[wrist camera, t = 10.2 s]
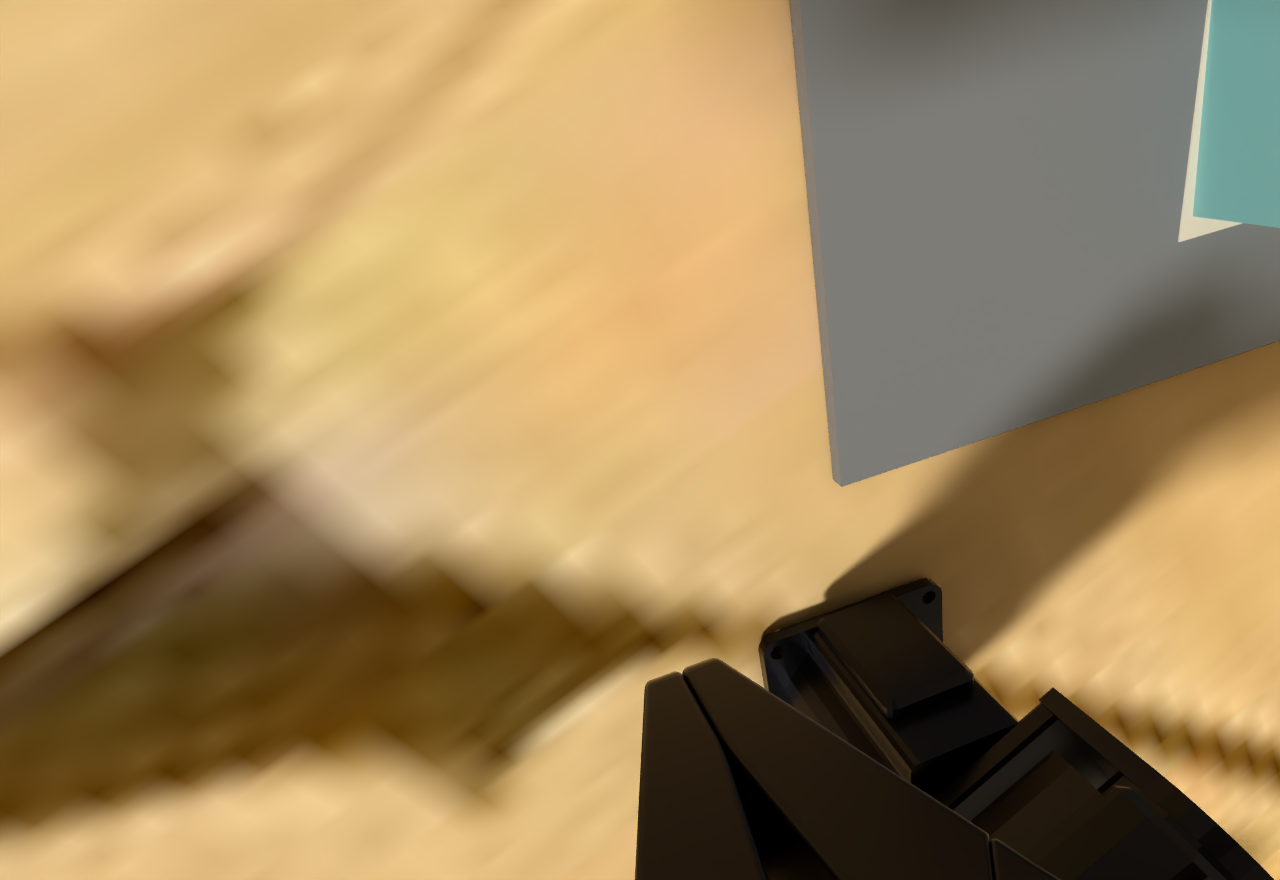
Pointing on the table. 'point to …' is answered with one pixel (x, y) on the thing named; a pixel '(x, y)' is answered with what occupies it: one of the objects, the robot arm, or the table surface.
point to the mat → (1010, 215)
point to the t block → (1241, 115)
